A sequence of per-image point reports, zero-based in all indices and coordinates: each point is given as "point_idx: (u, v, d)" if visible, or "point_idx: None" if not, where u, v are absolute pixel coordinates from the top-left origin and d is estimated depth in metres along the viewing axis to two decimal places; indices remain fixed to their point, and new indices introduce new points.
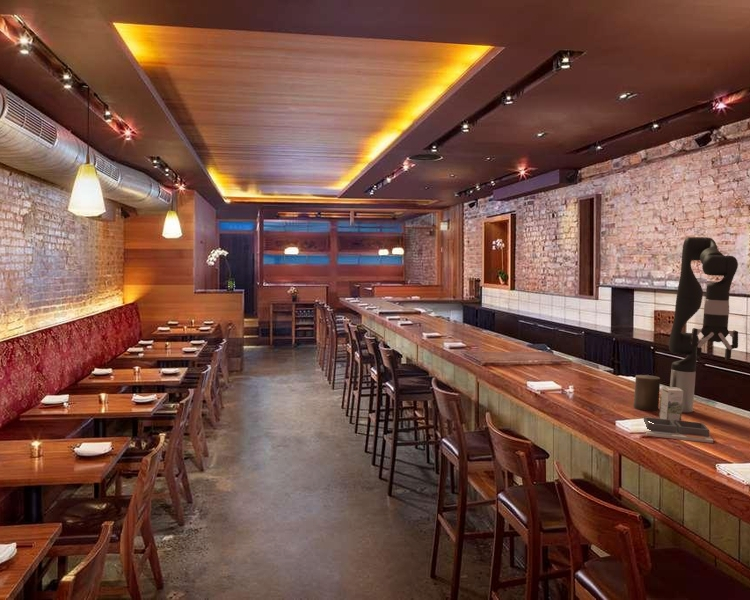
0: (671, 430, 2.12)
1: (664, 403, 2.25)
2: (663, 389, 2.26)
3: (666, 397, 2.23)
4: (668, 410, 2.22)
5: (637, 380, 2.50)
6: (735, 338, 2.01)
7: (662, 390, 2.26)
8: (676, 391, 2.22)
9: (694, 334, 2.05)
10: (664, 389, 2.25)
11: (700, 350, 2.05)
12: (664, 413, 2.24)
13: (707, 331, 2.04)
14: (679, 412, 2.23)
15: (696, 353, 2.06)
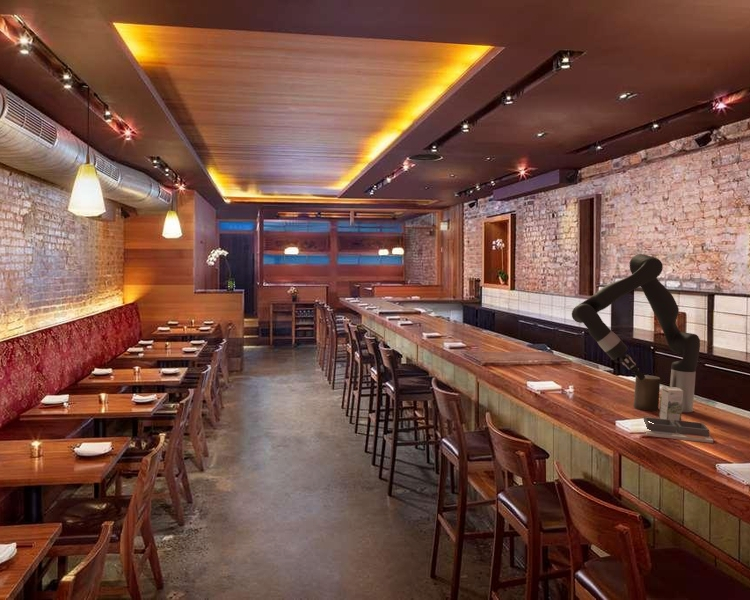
0: (671, 430, 2.12)
1: (664, 403, 2.25)
2: (663, 389, 2.26)
3: (666, 397, 2.23)
4: (668, 410, 2.22)
5: (637, 380, 2.50)
6: (627, 365, 2.23)
7: (662, 390, 2.26)
8: (676, 391, 2.22)
9: (621, 359, 2.35)
10: (664, 389, 2.25)
11: None
12: (664, 413, 2.24)
13: None
14: (679, 412, 2.23)
15: None
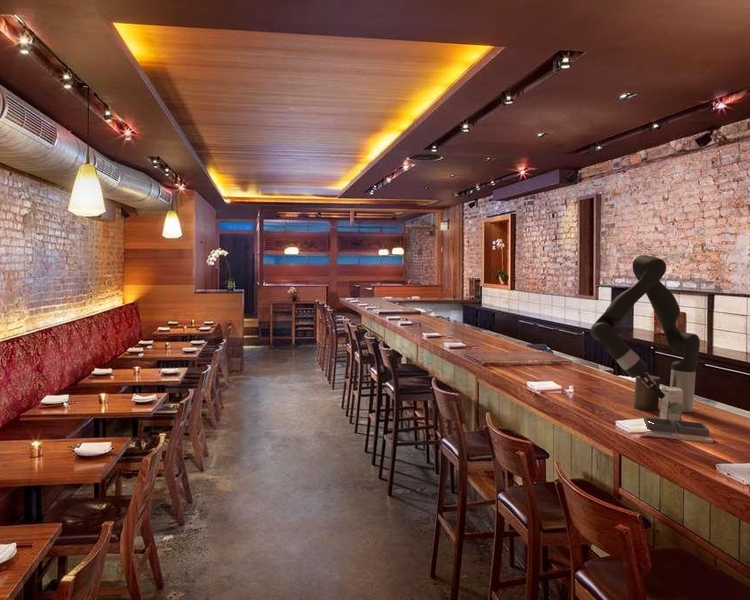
0: (671, 430, 2.12)
1: (664, 403, 2.25)
2: (663, 389, 2.26)
3: (666, 397, 2.23)
4: (668, 410, 2.22)
5: (637, 380, 2.50)
6: (646, 384, 2.22)
7: (662, 390, 2.26)
8: (676, 391, 2.22)
9: None
10: (664, 389, 2.25)
11: None
12: (664, 413, 2.24)
13: None
14: (679, 412, 2.23)
15: None
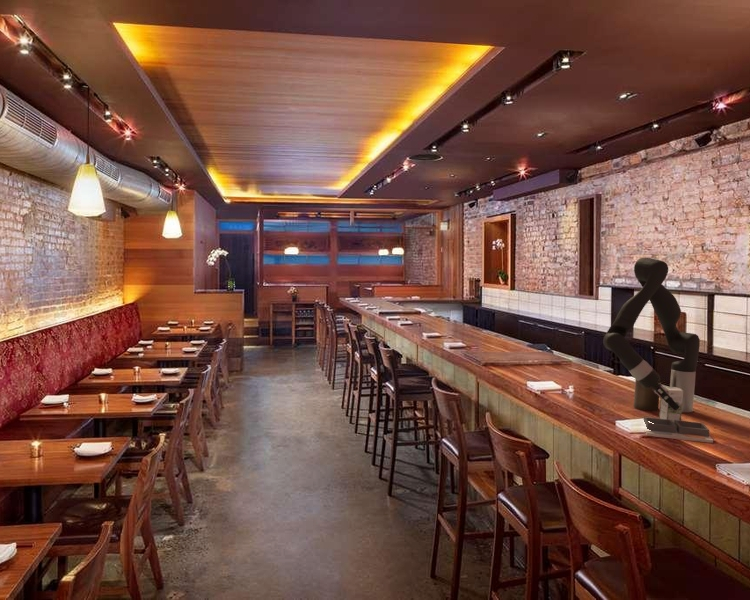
0: (671, 430, 2.12)
1: (664, 403, 2.25)
2: None
3: (666, 397, 2.23)
4: (668, 410, 2.22)
5: None
6: (660, 396, 2.21)
7: None
8: (676, 391, 2.22)
9: None
10: None
11: None
12: (664, 413, 2.24)
13: None
14: (679, 412, 2.23)
15: None
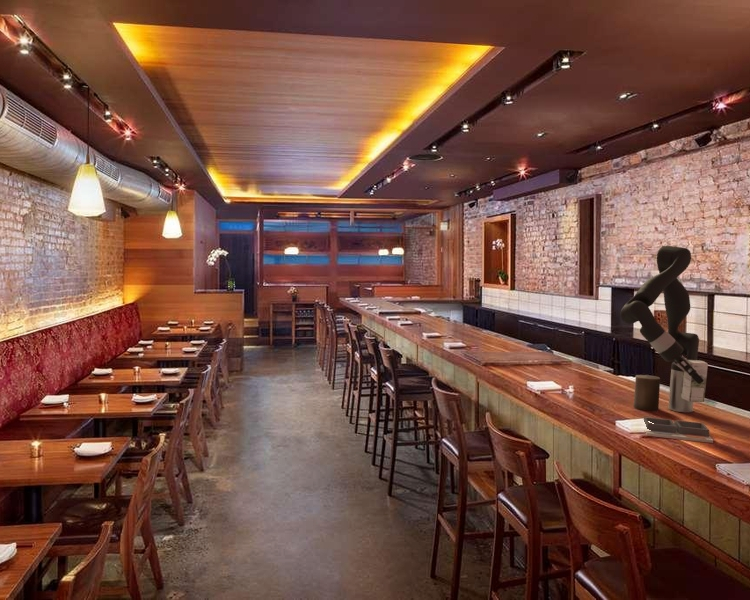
0: (671, 430, 2.12)
1: (686, 376, 2.12)
2: None
3: (690, 370, 2.11)
4: (692, 384, 2.10)
5: (637, 380, 2.50)
6: None
7: None
8: (700, 364, 2.09)
9: None
10: None
11: None
12: (687, 388, 2.12)
13: (675, 360, 2.17)
14: (703, 386, 2.10)
15: None
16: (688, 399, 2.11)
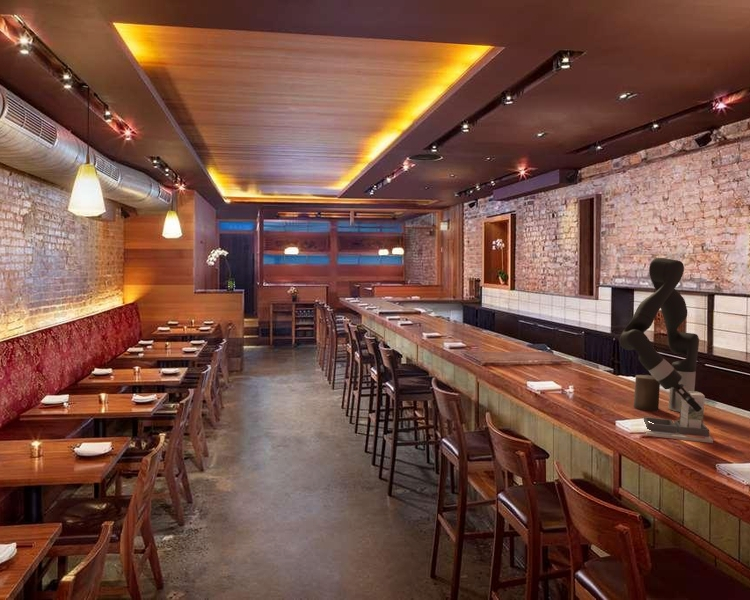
0: (671, 430, 2.12)
1: (684, 408, 2.13)
2: None
3: None
4: (689, 416, 2.11)
5: (637, 380, 2.50)
6: (681, 396, 2.09)
7: None
8: (697, 396, 2.10)
9: None
10: None
11: None
12: (685, 419, 2.12)
13: None
14: (700, 418, 2.11)
15: None
16: None
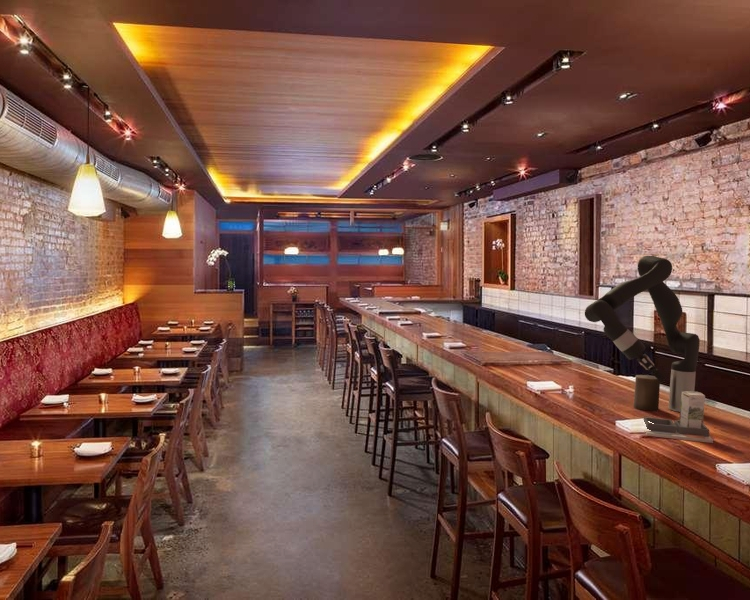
0: (671, 430, 2.12)
1: (684, 408, 2.13)
2: (683, 394, 2.14)
3: (687, 402, 2.11)
4: (689, 416, 2.11)
5: (637, 380, 2.50)
6: (644, 366, 2.12)
7: (682, 395, 2.15)
8: (697, 396, 2.10)
9: None
10: (685, 394, 2.13)
11: None
12: (685, 419, 2.12)
13: None
14: (701, 418, 2.11)
15: None
16: None
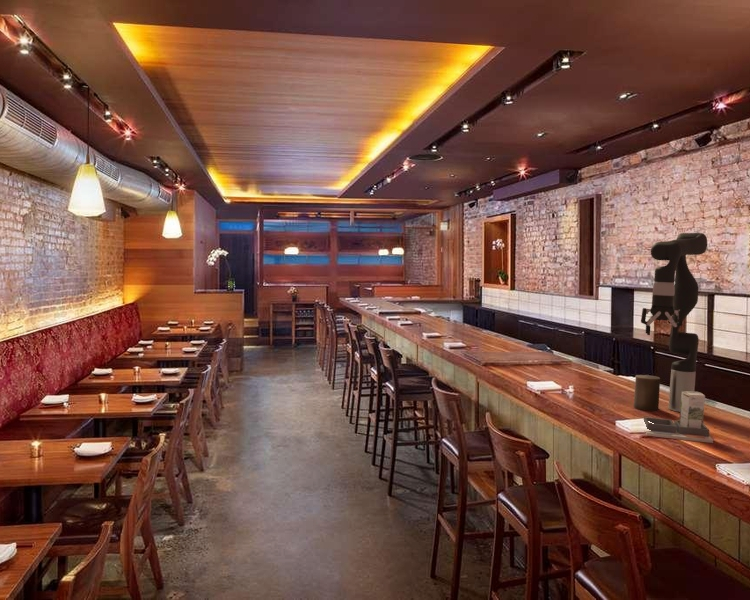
0: (671, 430, 2.12)
1: (684, 408, 2.13)
2: (683, 394, 2.14)
3: (687, 402, 2.11)
4: (689, 416, 2.11)
5: (637, 380, 2.50)
6: (680, 316, 2.23)
7: (682, 395, 2.15)
8: (697, 396, 2.10)
9: (644, 313, 2.27)
10: (685, 394, 2.13)
11: (649, 328, 2.27)
12: (685, 419, 2.12)
13: (655, 310, 2.25)
14: (701, 418, 2.11)
15: None
16: None
